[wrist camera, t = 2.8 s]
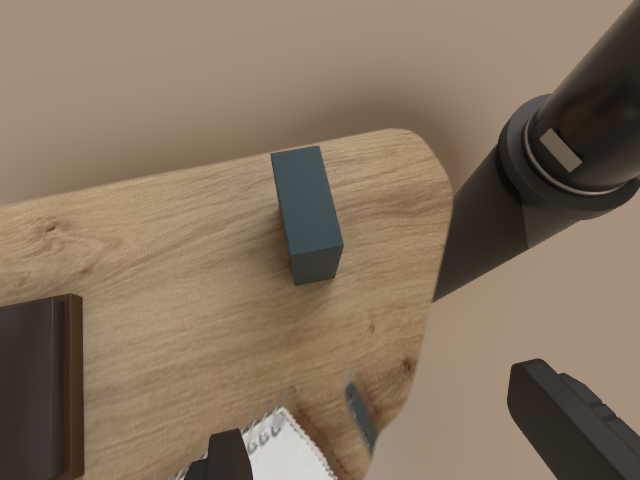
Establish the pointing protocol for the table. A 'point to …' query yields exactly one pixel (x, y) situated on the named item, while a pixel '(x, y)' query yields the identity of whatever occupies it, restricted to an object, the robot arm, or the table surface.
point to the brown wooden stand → (42, 389)
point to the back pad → (307, 214)
